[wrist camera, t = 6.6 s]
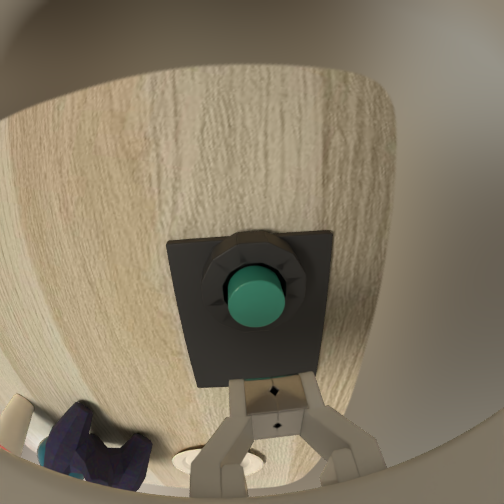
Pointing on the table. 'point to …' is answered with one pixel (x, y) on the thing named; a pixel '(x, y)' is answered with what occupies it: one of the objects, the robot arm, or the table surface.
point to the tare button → (255, 296)
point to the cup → (15, 424)
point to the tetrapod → (95, 452)
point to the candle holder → (185, 458)
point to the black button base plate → (235, 334)
